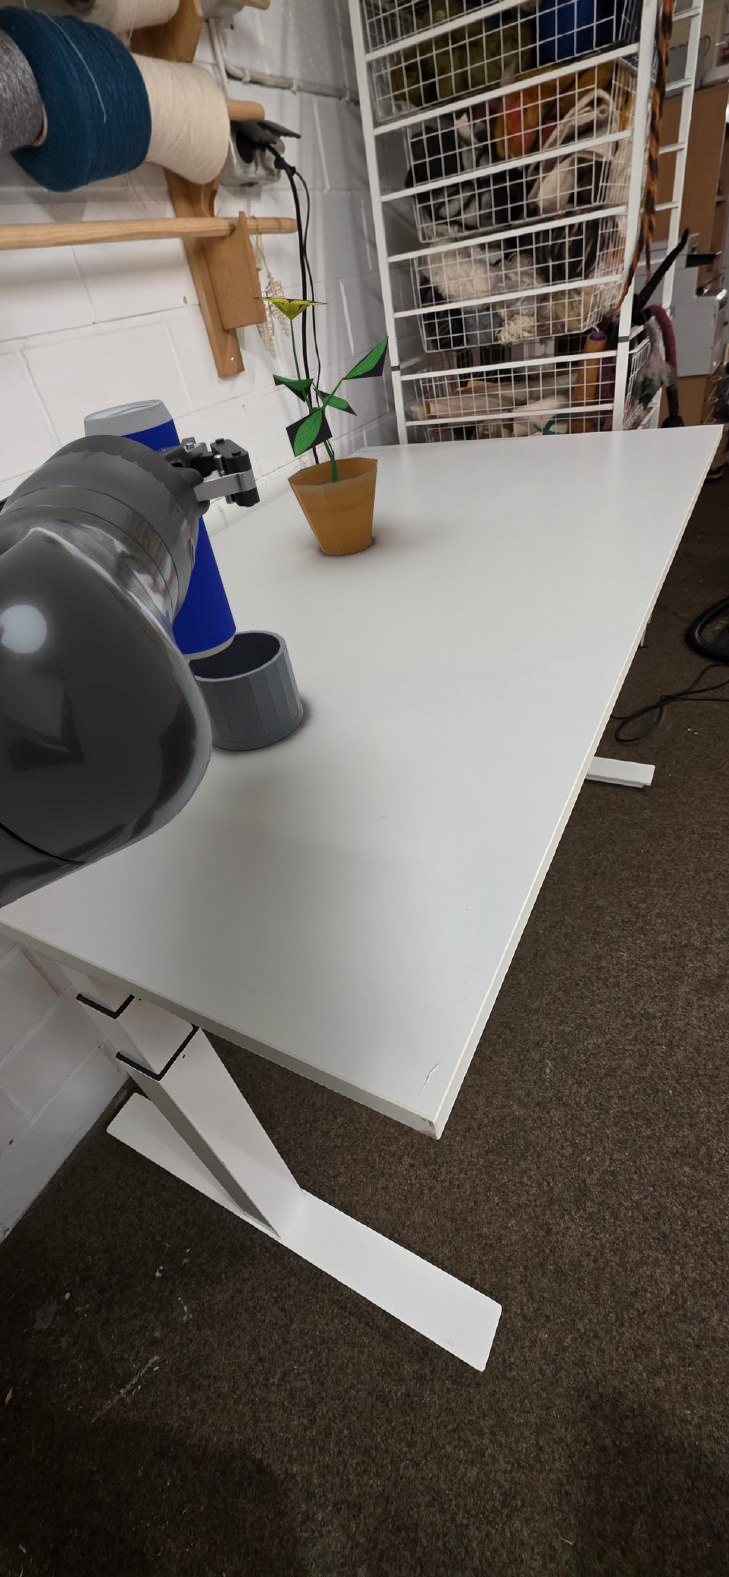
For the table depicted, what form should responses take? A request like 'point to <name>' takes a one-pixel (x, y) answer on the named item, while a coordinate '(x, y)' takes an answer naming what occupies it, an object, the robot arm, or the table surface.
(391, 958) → the table surface
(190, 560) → the robot arm
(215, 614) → the beverage can
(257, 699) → the grey pen holder cup
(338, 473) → the potted plant
